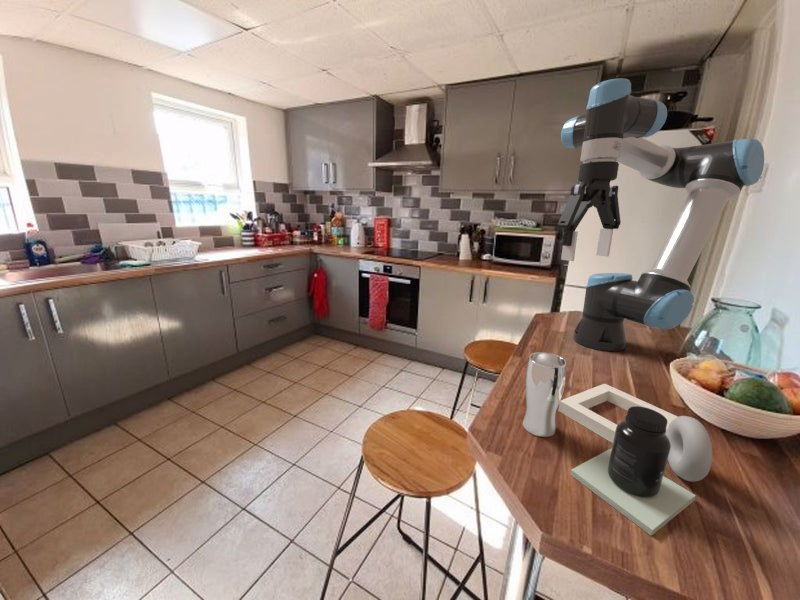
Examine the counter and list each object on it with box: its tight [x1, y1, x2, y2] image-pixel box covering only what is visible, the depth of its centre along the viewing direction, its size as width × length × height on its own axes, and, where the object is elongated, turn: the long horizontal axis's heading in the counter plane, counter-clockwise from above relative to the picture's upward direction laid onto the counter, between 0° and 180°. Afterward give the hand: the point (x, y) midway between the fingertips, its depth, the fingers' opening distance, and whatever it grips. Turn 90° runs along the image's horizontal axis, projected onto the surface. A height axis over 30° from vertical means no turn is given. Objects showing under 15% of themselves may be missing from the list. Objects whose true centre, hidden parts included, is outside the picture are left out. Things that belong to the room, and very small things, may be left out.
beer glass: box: [522, 351, 567, 438], centre depth 65 cm, size 7×7×15 cm
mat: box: [570, 447, 697, 537], centre depth 52 cm, size 12×12×1 cm
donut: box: [666, 415, 713, 482], centre depth 54 cm, size 10×4×10 cm, turn 159°
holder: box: [557, 383, 679, 444], centre depth 68 cm, size 16×16×2 cm
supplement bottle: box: [608, 406, 671, 497], centre depth 51 cm, size 7×7×12 cm
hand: (585, 258), depth 79 cm, fingers open, 13 cm apart
